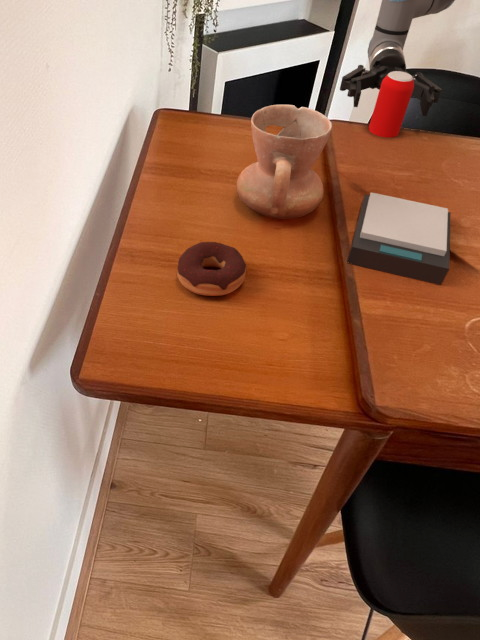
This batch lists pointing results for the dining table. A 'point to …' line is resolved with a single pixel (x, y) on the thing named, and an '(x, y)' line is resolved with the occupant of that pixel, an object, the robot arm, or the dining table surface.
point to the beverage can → (391, 104)
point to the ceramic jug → (285, 162)
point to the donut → (211, 280)
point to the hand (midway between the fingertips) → (392, 104)
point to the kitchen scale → (402, 238)
